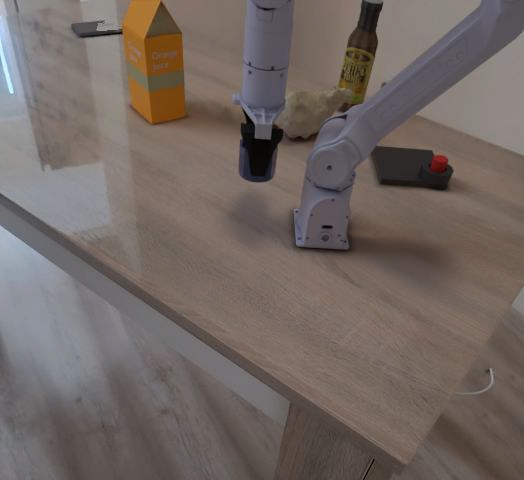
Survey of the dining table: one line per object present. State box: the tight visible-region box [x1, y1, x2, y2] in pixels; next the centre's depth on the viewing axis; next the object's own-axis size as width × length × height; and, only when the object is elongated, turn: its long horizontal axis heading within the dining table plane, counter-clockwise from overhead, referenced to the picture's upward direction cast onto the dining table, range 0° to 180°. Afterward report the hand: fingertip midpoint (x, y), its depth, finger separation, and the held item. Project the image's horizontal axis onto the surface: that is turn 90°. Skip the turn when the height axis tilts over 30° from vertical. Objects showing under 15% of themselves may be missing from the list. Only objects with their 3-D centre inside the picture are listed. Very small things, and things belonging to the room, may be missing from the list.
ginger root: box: [273, 86, 353, 139], centre depth 93 cm, size 15×7×15 cm
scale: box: [370, 145, 455, 190], centre depth 88 cm, size 13×13×3 cm
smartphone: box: [70, 19, 123, 37], centre depth 123 cm, size 8×1×15 cm
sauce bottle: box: [336, 0, 384, 112], centre depth 97 cm, size 6×6×20 cm
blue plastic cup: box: [237, 137, 279, 184], centre depth 69 cm, size 5×5×4 cm
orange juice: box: [122, 0, 187, 125], centre depth 89 cm, size 8×9×20 cm
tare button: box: [430, 154, 450, 172], centre depth 84 cm, size 3×3×2 cm
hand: (257, 163), depth 70 cm, fingers closed on blue plastic cup, 5 cm apart
